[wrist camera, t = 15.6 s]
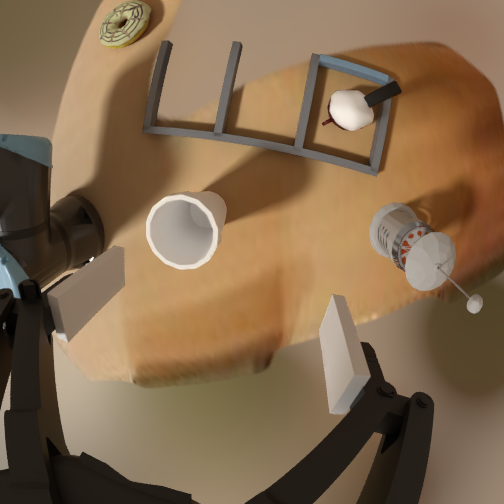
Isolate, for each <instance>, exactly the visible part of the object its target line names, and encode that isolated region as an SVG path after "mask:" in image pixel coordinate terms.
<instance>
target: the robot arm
mask: <svg viewBox="0 0 504 504" xmlns="http://www.w3.org/2000/svg"><path fill="white" fill-rule="evenodd" d="M52 168H53V165H52V143H51V141H50V140H49V139H48V138H45V137H36V136H26V135H10V134H0V409H1V405H2V401H3V397H4V393H5V389H6V386H7V382H8V379H9V376H10V372H11V391H10V392H11V393H10V396H11V397H10V404H11V405H10V406H11V407H10V410H6V411H5V413H4V426H5V440H6V450H7V459H8V466H9V469H5V470H0V504H199V503H198V502H196V501H194V500H192V499H191V494H188V493H184V492H181V491H177V490H174V489H170V488H167V487H164V486H158V485H151V484H143V483H137V482H132V481H130V480H128V479H127V478H125V477H124V476H122V475H121V474H119V473H118V472H117V471H115V470H114V469H113V468H111V467H110V466H109V465H107V464H106V463H104V462H102V461H100V460H98V459H96V458H94V457H92V456H90V455H88V454H86V453H84V452H82V454H81V455H80V456H76V455H70V453H69V451H68V449H67V446H66V444H65V440H64V435H63V430H62V425H61V420H60V414H59V407H58V401H57V392H56V384H55V372H54V358H53V357H54V356H53V337H52V332H53V331H54V330H55V329H56V333H57V336H58V338H59V339H61V340H63V341H65V342H67V343H68V342H69V341H70V340H71V339H72V338H73V337H74V336H75V335H76V334H77V333H78V332H79V331H80V330H81V329H82V328H83V327H84V326H85V325H86V324H87V322H88V321H89V320H90V319H91V318H92V317H93V316H94V315H95V314H96V313H97V312H98V311H99V310H100V309H101V308H102V307H103V306H104V305H105V304H106V303H107V302H108V301H109V300H110V299H111V298H112V297H113V296H114V295H115V294H117V293H118V292H119V291H120V290H121V289H122V288H123V287H124V286H125V271H124V248H123V247H119V246H113V247H112V248H110V249H108V250H107V251H105V252H104V253H103V254H101V253H102V250H103V247H104V230H103V225H102V222H101V219H100V217H99V215H98V213H97V211H96V209H95V208H94V207H93V205H92V204H91V203H90V202H89V201H88V200H86V199H85V198H83V197H81V196H77V195H71V196H68V197H65V198H62V199H60V200H59V201H57V202H56V203H55V204H54V205H53V206H52V207H51V208H50V188H51V171H52ZM74 269H79V270H78V271H76V272H75V273H74V274H73V273H72V274H69V275H66V276H64V277H63V278H61V279H60V280H59V281H57V282H56V283H55V284H53V285H52V286H50V287H49V288H48V289H46V290H45V291H44V292H42V293H41V289H42V288H43V287H45V286H46V285H47V284H49V283H50V282H51V281H53V280H54V279H55V278H57V277H58V276H60V275H61V274H62V273H64V272H65V271H68V270H74ZM3 327H4V329H3ZM319 336H320V342H321V349H322V356H323V363H324V371H325V378H326V386H327V395H328V404H329V413H330V414H343V415H344V414H345V413H346V412H347V411H348V409H349V408H350V412H349V413H348V414H347V415H346V416H345V417H344V418H343V420H342V421H341V422H340V423H339V424H338V425H337V426H336V427H335V428H334V429H333V430H332V431H331V432H330V433H329V434H328V435H327V437H326V438H324V439H323V441H322V442H320V443H319V444H318V446H317V447H316V448H314V449H313V450H312V451H311V452H310V453H309V454H308V455H307V456H306V457H305V458H304V459H302V460H301V461H300V462H299V463H298V464H297V465H296V466H295V467H293V468H292V469H291V470H290V471H289V472H288V473H286V474H285V475H284V476H283V477H281V478H280V479H279V480H278V481H277V482H275V483H274V484H273V485H272V486H270V487H269V488H268V489H266V490H265V491H263V492H261V493H259V494H258V495H256V496H255V497H253V498H252V499H250V500H249V501H248V502H246V503H245V504H313V503H314V502H315V501H316V500H317V499H318V498H319V497H320V496H321V495H322V494H323V493H324V492H325V491H326V490H327V489H328V488H329V486H330V485H331V484H332V483H333V482H334V481H335V480H336V479H337V478H338V477H339V476H340V474H341V473H342V472H343V471H344V470H345V469H346V467H347V466H348V465H349V464H350V462H352V460H353V459H354V458H355V457H356V455H357V454H358V453H359V451H360V450H361V449H362V447H363V446H364V445H365V444H366V442H367V441H368V440H369V438H370V437H371V435H372V434H373V433H374V432H377V433H381V434H383V435H382V438H381V441H380V444H379V447H378V450H377V453H376V456H375V459H374V462H373V464H372V467H371V470H370V473H369V475H368V478H367V480H366V483H365V485H364V487H363V490H362V492H361V495H360V496H359V499H358V501H357V503H356V504H418V502H419V499H420V495H421V491H422V487H423V482H424V478H425V473H426V468H427V462H428V457H429V450H430V443H431V436H432V427H433V414H434V402H433V400H432V398H431V397H430V396H428V395H427V394H425V393H422V392H416V393H414V394H413V395H412V396H411V398H408V397H405V396H401V395H398V394H397V392H396V389H395V388H394V386H392V385H391V384H390V383H388V382H386V381H385V379H384V376H383V373H382V370H381V368H380V365H379V363H378V359H377V358H376V354H375V351H374V349H373V348H372V346H371V345H370V344H369V343H366V342H360V340H359V337H358V334H357V331H356V328H355V325H354V322H353V319H352V317H351V314H350V311H349V308H348V305H347V302H346V300H345V297H344V296H340V295H335V294H332V297H331V300H330V302H329V305H328V308H327V310H326V313H325V316H324V318H323V321H322V324H321V326H320V329H319Z"/></svg>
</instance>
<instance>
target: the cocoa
mask: <svg viewBox="0 0 504 504" xmlns="http://www.w3.org/2000/svg"><path fill="white" fill-rule="evenodd" d="M400 93H401V89H400V87H399V86H398V84H397V82H396V81H392V82H390V83H388V84H386V85H385V86H383V87H381V88H379V89H377V90H375V91H374V92H372V93H370V94H368V95H367V96H365V95H364V94H363V93H361V92H360V91H358V90H339V91H335V92H334V93H333V95H332V96H331V99H330V101H329V104H328V113H329V117H330V119H328V120H326V121H325V122H323V123H322V125H323V126H324V125H326V124H328V123H330V122H333V123H334V124H335V125H336V126H338V127H339V128H341V129H343V130H348V131H354V130H359V129H362V128H363V127H365V126H367V125H369V124H371V123H372V122H373V119H374V113H373V109H372V107H373V106H375V105H377V104H379V103H381V102H383V101H385V100H387V99H389V98H391V97H394V96H396V95H398V94H400Z"/></svg>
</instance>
